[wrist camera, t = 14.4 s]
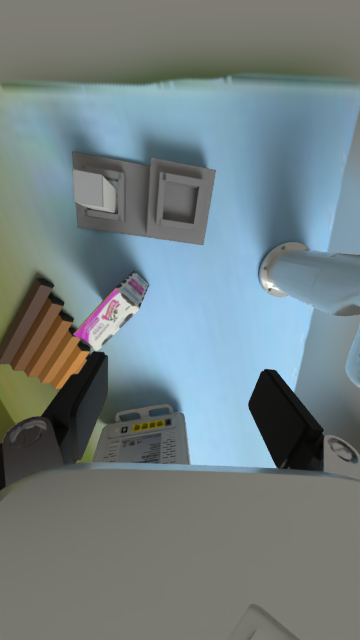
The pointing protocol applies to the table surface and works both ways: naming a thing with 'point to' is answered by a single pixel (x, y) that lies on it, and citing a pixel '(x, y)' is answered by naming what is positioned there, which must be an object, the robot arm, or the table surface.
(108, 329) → the candy bar box
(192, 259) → the table surface
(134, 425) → the network device
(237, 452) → the table surface
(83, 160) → the stepped socket base
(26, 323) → the pan flute
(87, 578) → the robot arm
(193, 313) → the table surface
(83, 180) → the plug
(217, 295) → the table surface
